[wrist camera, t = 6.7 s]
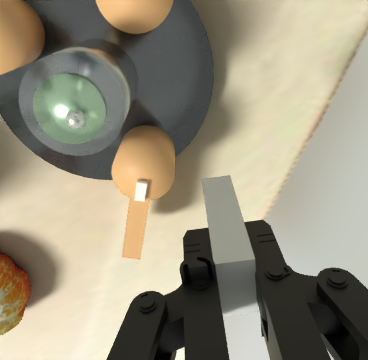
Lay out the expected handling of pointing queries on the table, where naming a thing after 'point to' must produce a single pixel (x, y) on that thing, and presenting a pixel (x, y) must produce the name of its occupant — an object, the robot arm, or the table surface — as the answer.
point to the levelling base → (158, 74)
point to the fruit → (12, 293)
